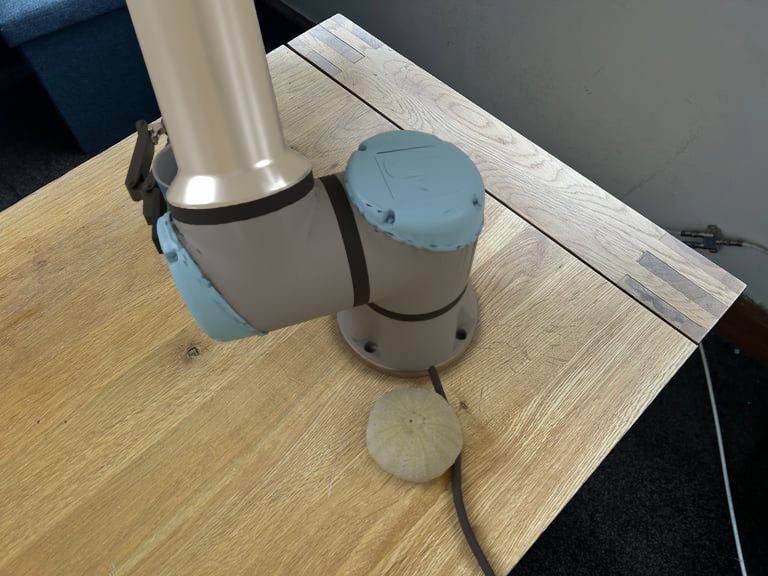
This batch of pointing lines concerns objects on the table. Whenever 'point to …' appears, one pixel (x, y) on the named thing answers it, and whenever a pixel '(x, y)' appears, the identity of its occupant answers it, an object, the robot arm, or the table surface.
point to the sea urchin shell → (414, 434)
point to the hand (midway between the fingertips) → (202, 240)
